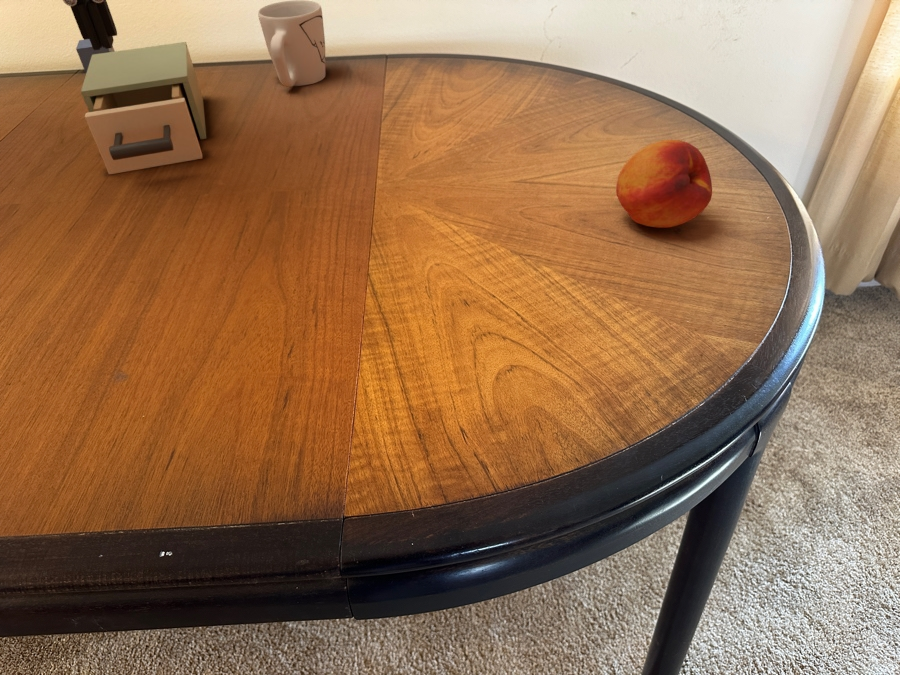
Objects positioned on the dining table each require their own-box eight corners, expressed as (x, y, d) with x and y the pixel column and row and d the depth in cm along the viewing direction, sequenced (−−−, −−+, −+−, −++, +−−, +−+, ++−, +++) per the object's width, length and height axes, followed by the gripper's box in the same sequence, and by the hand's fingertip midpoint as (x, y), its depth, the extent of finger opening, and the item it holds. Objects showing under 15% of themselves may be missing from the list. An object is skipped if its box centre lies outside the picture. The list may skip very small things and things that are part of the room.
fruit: (648, 254, 58) (663, 172, 53) (595, 213, 64) (604, 135, 58) (716, 231, 60) (738, 150, 55) (660, 193, 66) (674, 117, 61)
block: (87, 78, 100) (75, 48, 97) (90, 69, 103) (78, 40, 100) (118, 74, 100) (107, 44, 98) (119, 65, 104) (109, 36, 101)
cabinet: (208, 145, 79) (187, 75, 74) (110, 162, 77) (80, 91, 72) (205, 105, 89) (186, 41, 84) (117, 119, 87) (91, 54, 81)
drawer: (204, 178, 71) (184, 119, 67) (105, 196, 69) (78, 136, 65) (199, 118, 84) (183, 65, 79) (116, 131, 82) (95, 77, 77)
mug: (316, 103, 88) (301, 25, 81) (257, 102, 89) (238, 25, 83) (340, 73, 96) (328, -1, 90) (286, 72, 98) (271, 0, 91)
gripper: (-106, -188, 48) (14, 68, 60) (109, -200, 51) (182, 46, 63) (-77, -192, 53) (28, 44, 65) (117, -202, 56) (182, 25, 68)
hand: (103, 44), depth 64 cm, fingers closed
